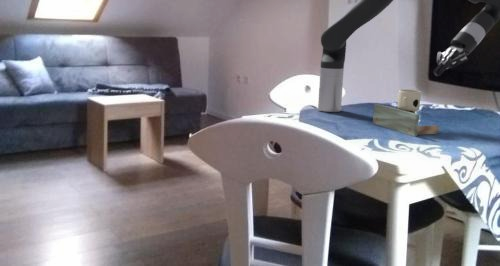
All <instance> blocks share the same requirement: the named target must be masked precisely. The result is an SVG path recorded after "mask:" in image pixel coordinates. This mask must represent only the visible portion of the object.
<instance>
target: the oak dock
mask: <svg viewBox="0 0 500 266" xmlns="http://www.w3.org/2000/svg"><path fill="white" fill-rule="evenodd" d="M419 120H420V114H419V113H416V112H415V113H412V112H408V111H404V110H400V109H398V108H395V107H392V106H388V105H384V104H381V103H374V105H373V115H372V124H374V125H377V126H380V127H384V128H386V129H389V130H392V131H395V132H399V133H402V134H406V135H407V136H412V137H418V136H422V135H432V134H433V135H435V134H439V131H440V126H439V125H436V124H434V125H433V124H432V125H419Z"/></svg>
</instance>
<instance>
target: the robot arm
mask: <svg viewBox="0 0 500 266" xmlns="http://www.w3.org/2000/svg"><path fill="white" fill-rule="evenodd" d="M468 1H469V2H471V3H473V4H478V3H480V2H481V3H484V4H485V5H484V7H483V8H482V9H481V10H480V11H479V13H477V14H476V15H475V16H474V17H473V18H471V20H470V21H469V22H468V23H467V24H466V25H465V26H464V27H463V28H461V30H460V31H459V32H458V33H457V34H456V35H455V36H454V37H453V38H452V39H451V40H450V45H449V47H448V48H446V49H445V51H443V52H441V51H438V52H437V55H436V63H437V66H436V67H435V68H434V69H433V71H432V73H433V74H434V76H435V77H440V76H441V75H443V73H444V72H445V71H446V70H448V69H453V68H456V67H457V66H459V65H462V64H464V63H465V62H467V61H468V60H469V59H468V57H467V56H469V55H470V54H471V53H472V52H473V51H474V50H475V49H476V48H477V46H478V45H479V44H480V43H481V42H482V40H483V39H484V38H485V36H486V35H487V34H488V33H489V32H490V31H491V30H492V28H493V27H494V26H495V25H496V24H497V23H498V22H499V21H500V0H468ZM392 2H394V0H357V1H356V2H355V3H354V4H353V6H351V8H350V9H348V11H347V12H346V13H345V14H344V15H343V16H342V17H341V18H340V19H338V20H337V21H336V22H334V23H333V24H332V25H330V26H329V27H327V28H326V29H324V31H322V34H321V35H320V45H321V46H322V55H321V60H320V67H319V68H320V70H319V87H318V104H317V106H318V107H317V109H318V112H327V113H328V112H329V113H330V112H331V113H337V112H341V111H342V102H343V100H342V99H343V86H344V85H343V84H344V82H343V81H344V70H345V69H344V68H345V61H346V54H347V52H346V51H347V40H348V39H349V38H350V37H351V36H352V35H353V34H354V33H355V32H356V31H357V30H358V29H359V28H361V27H363V26H365V24H367V23H369V22H370V21H372V20H373V19H374V18H376V17H377V16H378V15H380V14H381V13H382V12H383V11H384V10H385V9H386V8H387V7H388V6H390V5H391V4H392Z"/></svg>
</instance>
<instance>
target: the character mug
mask: <svg viewBox="0 0 500 266" xmlns="http://www.w3.org/2000/svg"><path fill="white" fill-rule="evenodd" d="M421 98H422V91H421V90H417V89H416V90H415V89H399V90H398V94H397V108H396V109H400V110H404V111H408V112H412V113H416V112H417V111H419V110H420V107H421Z"/></svg>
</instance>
